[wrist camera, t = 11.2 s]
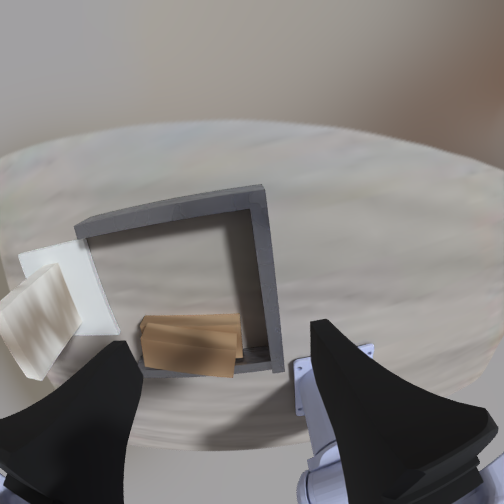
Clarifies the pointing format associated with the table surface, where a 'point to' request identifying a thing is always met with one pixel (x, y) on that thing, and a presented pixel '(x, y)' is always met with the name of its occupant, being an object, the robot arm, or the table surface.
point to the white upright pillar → (38, 320)
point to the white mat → (77, 283)
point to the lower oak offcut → (202, 324)
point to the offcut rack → (202, 206)
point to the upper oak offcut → (189, 350)
